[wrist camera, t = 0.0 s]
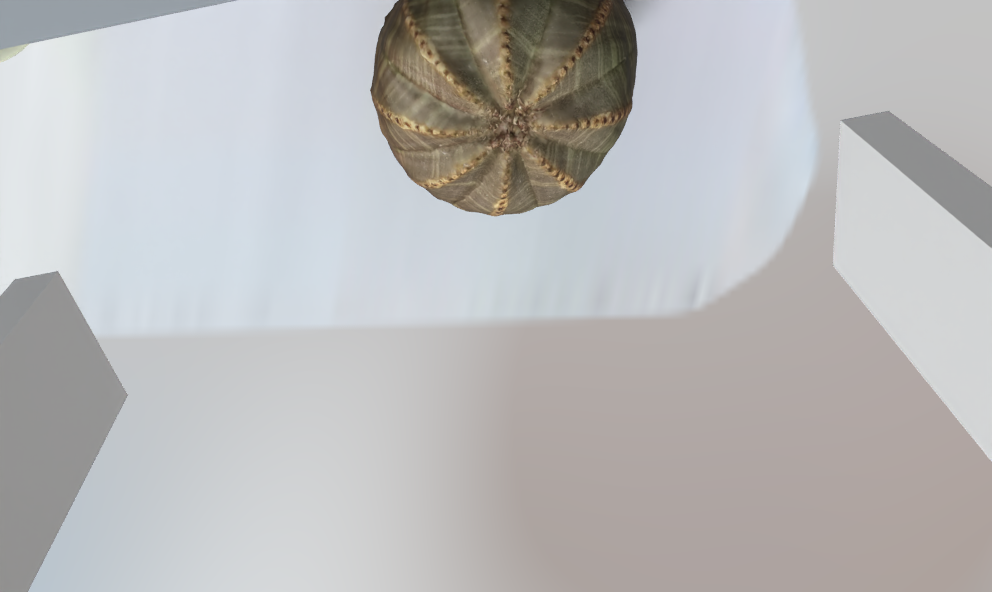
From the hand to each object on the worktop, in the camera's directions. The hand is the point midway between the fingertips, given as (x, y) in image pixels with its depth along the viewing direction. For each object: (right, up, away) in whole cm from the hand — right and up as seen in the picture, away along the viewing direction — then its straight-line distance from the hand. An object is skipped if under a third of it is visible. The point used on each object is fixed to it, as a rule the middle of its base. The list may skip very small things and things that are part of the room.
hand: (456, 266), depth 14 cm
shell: (+1, +12, +26) cm, 29 cm away
